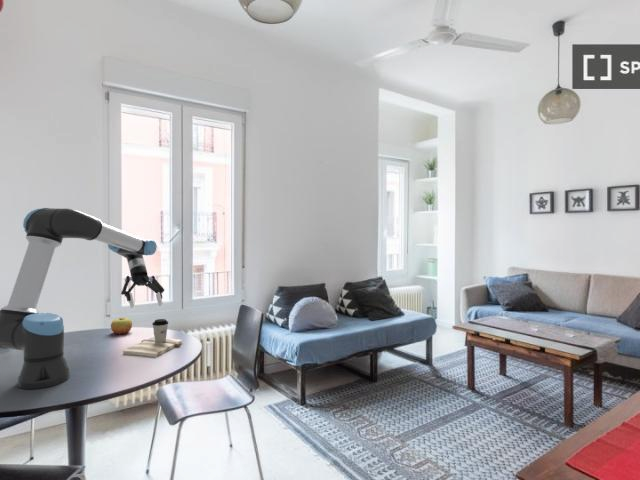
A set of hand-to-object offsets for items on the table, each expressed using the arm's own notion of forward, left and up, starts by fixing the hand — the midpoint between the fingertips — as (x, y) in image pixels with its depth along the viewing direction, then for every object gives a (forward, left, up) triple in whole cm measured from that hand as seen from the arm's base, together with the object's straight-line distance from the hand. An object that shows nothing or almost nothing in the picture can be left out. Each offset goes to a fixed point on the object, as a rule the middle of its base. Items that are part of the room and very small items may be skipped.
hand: (147, 305), depth 184 cm
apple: (+8, +21, -17) cm, 28 cm away
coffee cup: (-4, -10, -16) cm, 19 cm away
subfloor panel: (-9, -10, -17) cm, 22 cm away
